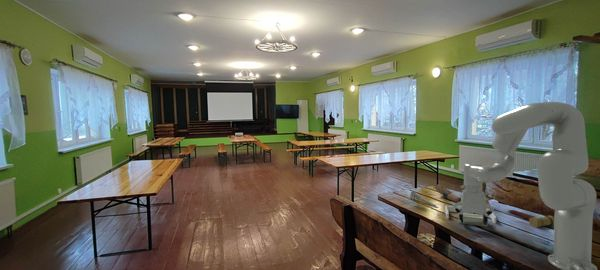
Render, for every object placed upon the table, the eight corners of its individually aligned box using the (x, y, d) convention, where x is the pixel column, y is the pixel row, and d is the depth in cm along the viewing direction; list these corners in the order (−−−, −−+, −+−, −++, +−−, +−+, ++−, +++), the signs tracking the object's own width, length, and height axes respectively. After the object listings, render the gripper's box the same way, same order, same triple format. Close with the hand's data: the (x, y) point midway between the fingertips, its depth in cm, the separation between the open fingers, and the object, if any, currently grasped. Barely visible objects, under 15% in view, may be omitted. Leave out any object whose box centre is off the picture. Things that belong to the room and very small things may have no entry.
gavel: (499, 207, 148) (515, 205, 149) (499, 215, 148) (516, 213, 149) (538, 219, 127) (556, 217, 128) (538, 229, 127) (556, 226, 128)
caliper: (410, 199, 178) (410, 189, 178) (411, 198, 179) (411, 189, 178) (437, 208, 160) (436, 198, 159) (438, 208, 160) (438, 197, 159)
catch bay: (496, 223, 135) (496, 217, 134) (447, 218, 143) (446, 213, 143) (490, 214, 146) (490, 208, 146) (445, 210, 155) (444, 205, 155)
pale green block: (487, 227, 132) (487, 219, 132) (459, 223, 138) (459, 215, 137) (486, 223, 136) (486, 215, 136) (458, 219, 142) (458, 212, 142)
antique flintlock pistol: (439, 194, 184) (439, 179, 183) (481, 208, 156) (481, 191, 155) (433, 195, 182) (433, 181, 181) (474, 209, 154) (474, 192, 153)
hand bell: (476, 209, 155) (476, 181, 154) (474, 204, 162) (474, 178, 161) (494, 210, 151) (494, 182, 150) (490, 205, 159) (490, 178, 158)
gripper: (453, 189, 132) (453, 223, 133) (496, 191, 125) (496, 227, 126) (451, 185, 138) (452, 218, 140) (492, 187, 132) (492, 221, 133)
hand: (473, 222), depth 133 cm, fingers open, 9 cm apart
